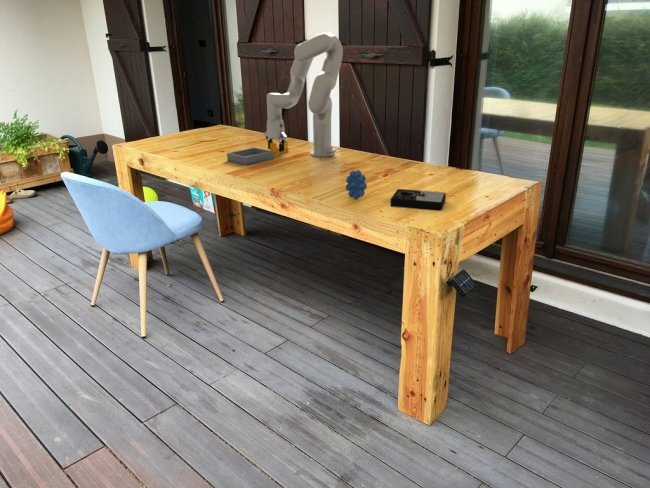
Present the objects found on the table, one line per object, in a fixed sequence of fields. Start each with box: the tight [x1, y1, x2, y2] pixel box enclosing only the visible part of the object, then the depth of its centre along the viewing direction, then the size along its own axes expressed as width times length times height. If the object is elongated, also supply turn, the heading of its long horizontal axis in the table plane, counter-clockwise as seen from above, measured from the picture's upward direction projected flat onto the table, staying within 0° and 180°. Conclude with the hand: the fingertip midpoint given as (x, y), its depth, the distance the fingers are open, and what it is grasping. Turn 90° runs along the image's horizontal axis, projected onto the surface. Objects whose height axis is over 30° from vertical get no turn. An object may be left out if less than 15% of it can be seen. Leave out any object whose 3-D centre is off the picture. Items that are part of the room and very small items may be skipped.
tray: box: [226, 146, 274, 166], centre depth 271 cm, size 15×18×4 cm
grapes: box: [345, 169, 368, 200], centre depth 207 cm, size 12×7×12 cm, turn 37°
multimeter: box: [389, 188, 447, 212], centre depth 202 cm, size 13×19×5 cm
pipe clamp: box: [269, 139, 289, 157], centre depth 284 cm, size 12×4×6 cm, turn 145°
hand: (276, 149), depth 286 cm, fingers open, 8 cm apart
